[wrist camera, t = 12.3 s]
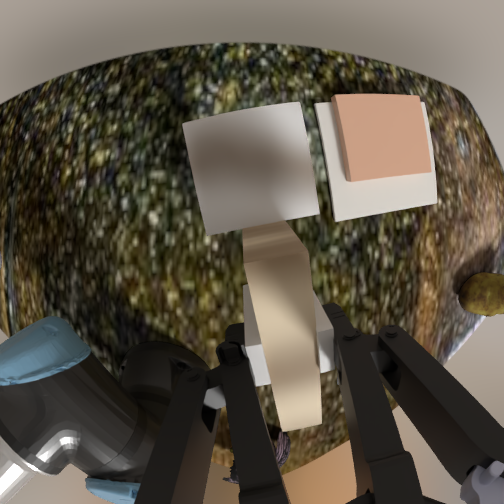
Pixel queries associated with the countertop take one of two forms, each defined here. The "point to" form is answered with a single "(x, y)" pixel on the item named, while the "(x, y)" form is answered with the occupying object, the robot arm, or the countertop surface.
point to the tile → (381, 135)
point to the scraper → (267, 236)
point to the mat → (374, 190)
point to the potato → (483, 294)
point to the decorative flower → (280, 452)
